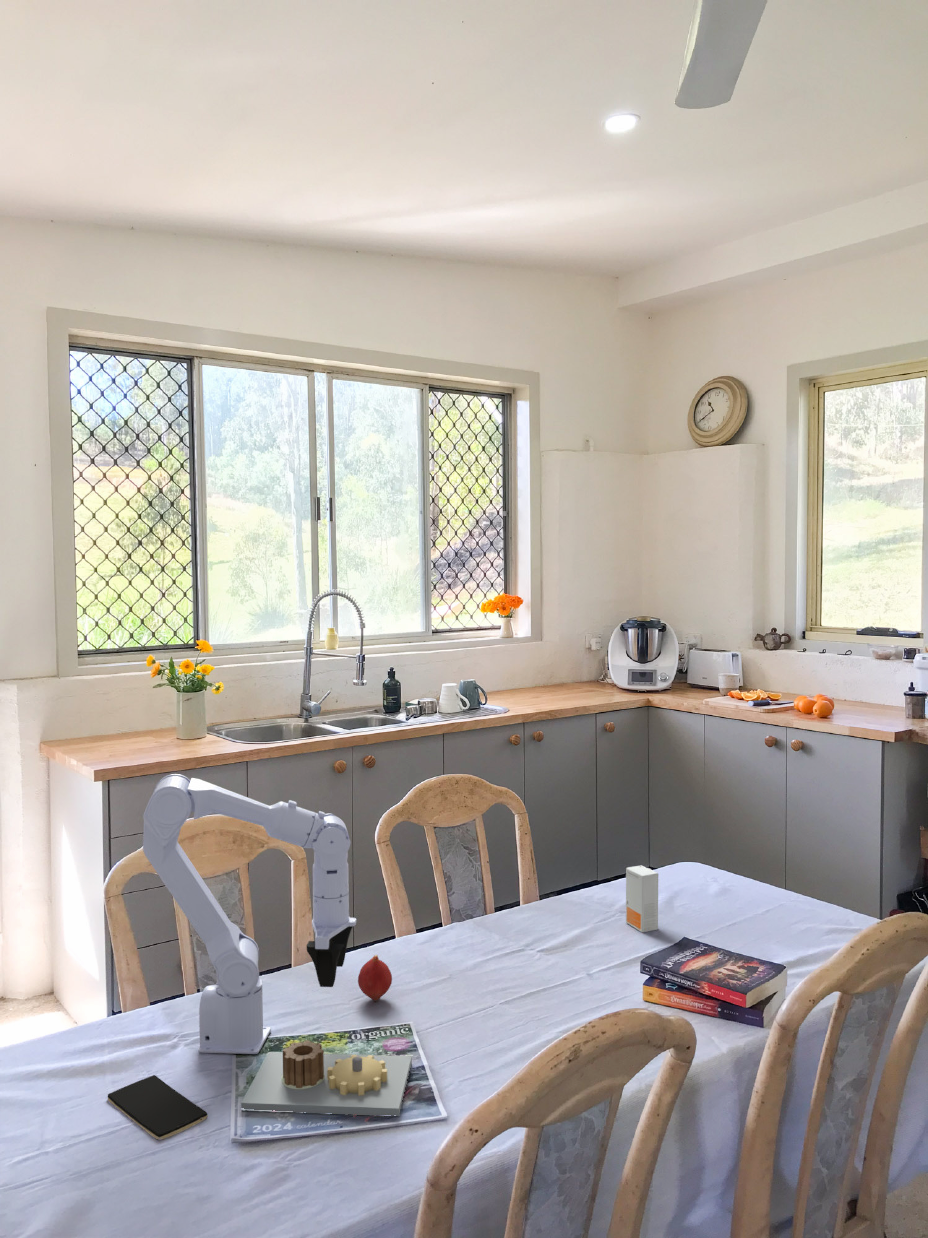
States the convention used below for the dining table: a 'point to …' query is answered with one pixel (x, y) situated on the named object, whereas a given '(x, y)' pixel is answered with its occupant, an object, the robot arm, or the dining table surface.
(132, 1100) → the smartphone
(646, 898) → the skincare box
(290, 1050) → the walnut gear
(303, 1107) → the gear board
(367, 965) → the onion
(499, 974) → the dining table surface
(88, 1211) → the dining table surface
